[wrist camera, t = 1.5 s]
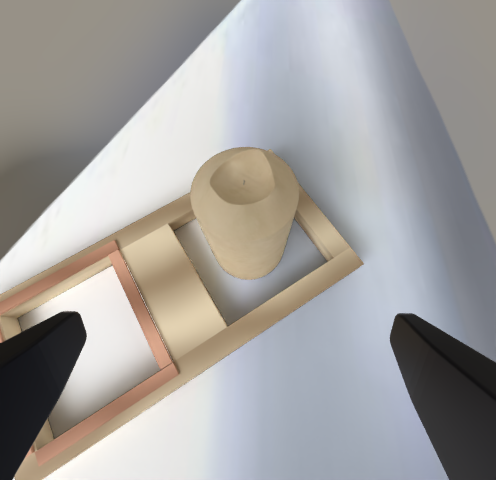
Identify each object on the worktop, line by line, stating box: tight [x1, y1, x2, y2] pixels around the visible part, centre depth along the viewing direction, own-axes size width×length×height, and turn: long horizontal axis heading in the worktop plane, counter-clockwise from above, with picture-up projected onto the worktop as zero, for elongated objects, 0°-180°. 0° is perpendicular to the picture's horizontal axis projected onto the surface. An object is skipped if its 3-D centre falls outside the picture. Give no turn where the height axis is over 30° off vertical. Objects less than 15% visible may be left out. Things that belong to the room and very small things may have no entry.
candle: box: [190, 147, 299, 280], centre depth 17 cm, size 6×6×10 cm
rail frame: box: [0, 149, 364, 480], centre depth 20 cm, size 12×25×2 cm, turn 122°
